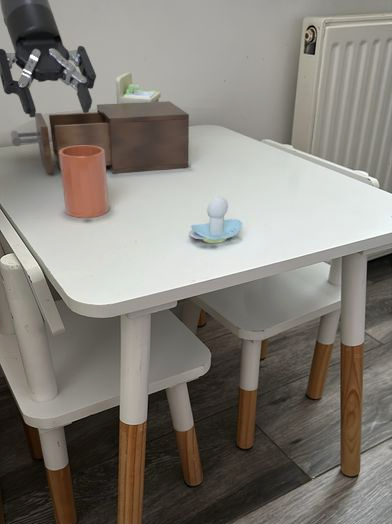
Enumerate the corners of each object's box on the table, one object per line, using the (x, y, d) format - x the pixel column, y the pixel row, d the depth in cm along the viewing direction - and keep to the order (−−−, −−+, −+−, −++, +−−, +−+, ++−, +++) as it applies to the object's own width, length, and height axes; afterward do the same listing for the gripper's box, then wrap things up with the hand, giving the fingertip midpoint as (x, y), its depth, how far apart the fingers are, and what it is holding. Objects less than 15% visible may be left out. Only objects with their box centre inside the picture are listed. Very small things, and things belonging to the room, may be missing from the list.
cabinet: (113, 173, 103) (109, 118, 97) (100, 155, 112) (96, 104, 107) (188, 167, 107) (188, 114, 101) (170, 150, 116) (169, 101, 111)
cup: (59, 215, 85) (51, 155, 80) (75, 201, 90) (69, 143, 85) (100, 219, 84) (95, 158, 79) (114, 204, 89) (110, 146, 84)
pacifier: (180, 235, 80) (199, 249, 75) (180, 191, 76) (199, 204, 72) (225, 227, 82) (246, 240, 78) (227, 184, 79) (248, 196, 75)
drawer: (18, 175, 98) (10, 128, 94) (14, 157, 107) (7, 114, 103) (121, 167, 103) (118, 122, 99) (109, 151, 112) (106, 109, 108)
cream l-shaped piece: (152, 147, 118) (150, 79, 111) (119, 144, 120) (115, 77, 112) (162, 137, 125) (161, 73, 118) (130, 135, 126) (127, 71, 119)
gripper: (-17, 1, 81) (15, 100, 80) (77, 1, 87) (109, 92, 85) (-17, 39, 88) (13, 130, 86) (70, 36, 94) (99, 122, 92)
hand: (60, 111), depth 86 cm, fingers open, 8 cm apart
